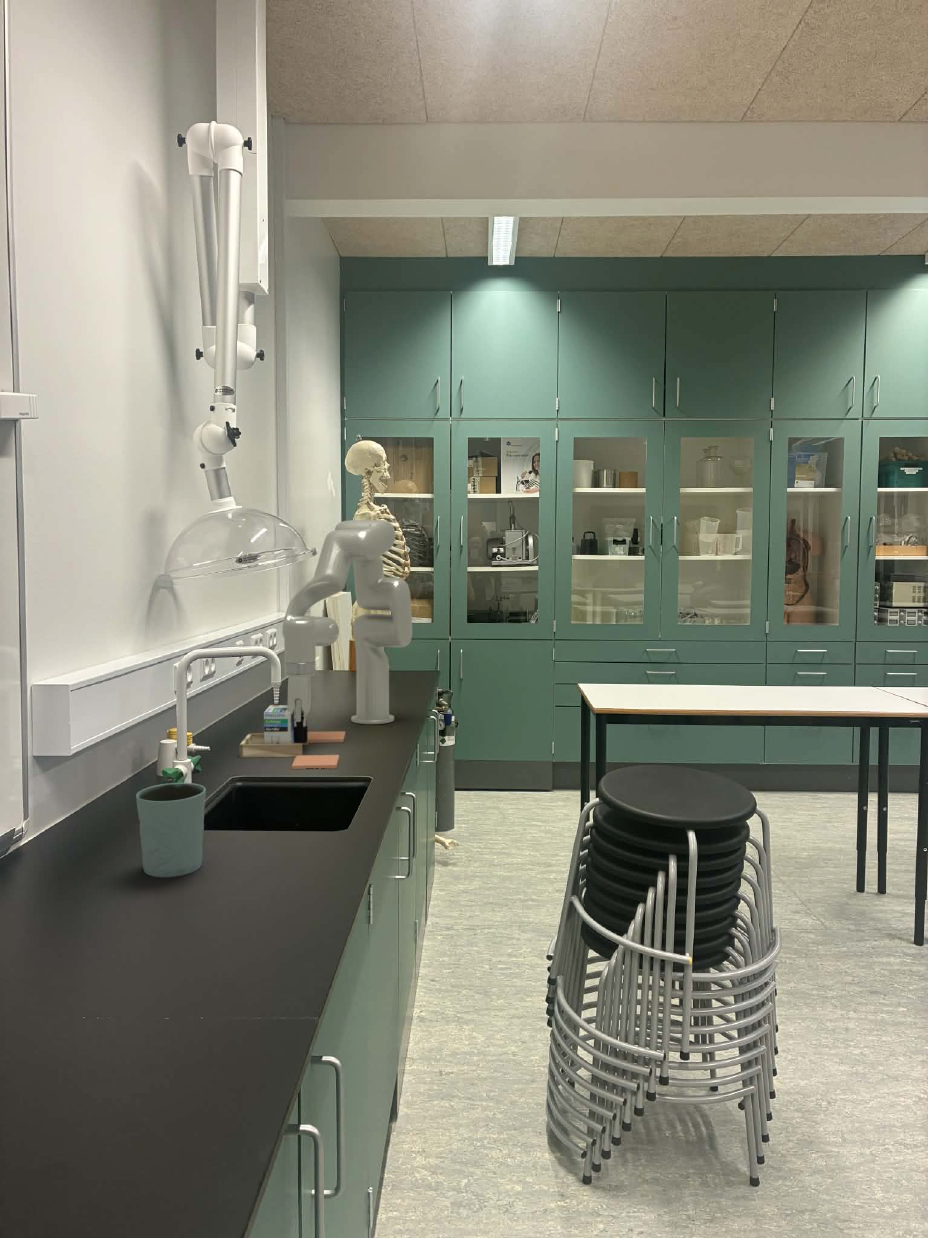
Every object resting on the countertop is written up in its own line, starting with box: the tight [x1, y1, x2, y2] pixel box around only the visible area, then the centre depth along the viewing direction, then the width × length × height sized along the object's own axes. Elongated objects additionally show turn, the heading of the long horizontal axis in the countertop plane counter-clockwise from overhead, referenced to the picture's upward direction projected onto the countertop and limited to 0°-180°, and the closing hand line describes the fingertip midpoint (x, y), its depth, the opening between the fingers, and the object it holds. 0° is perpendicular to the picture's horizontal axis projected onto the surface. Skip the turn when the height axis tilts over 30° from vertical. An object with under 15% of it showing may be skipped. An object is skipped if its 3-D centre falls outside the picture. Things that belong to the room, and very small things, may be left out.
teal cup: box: [135, 782, 207, 878], centre depth 130 cm, size 10×10×12 cm
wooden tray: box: [238, 732, 309, 759], centre depth 210 cm, size 14×15×3 cm
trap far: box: [307, 730, 346, 744], centre depth 225 cm, size 10×10×1 cm
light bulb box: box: [263, 704, 296, 744], centre depth 210 cm, size 11×7×11 cm, turn 5°
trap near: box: [291, 754, 340, 770], centre depth 197 cm, size 10×10×1 cm
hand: (300, 742), depth 211 cm, fingers closed
